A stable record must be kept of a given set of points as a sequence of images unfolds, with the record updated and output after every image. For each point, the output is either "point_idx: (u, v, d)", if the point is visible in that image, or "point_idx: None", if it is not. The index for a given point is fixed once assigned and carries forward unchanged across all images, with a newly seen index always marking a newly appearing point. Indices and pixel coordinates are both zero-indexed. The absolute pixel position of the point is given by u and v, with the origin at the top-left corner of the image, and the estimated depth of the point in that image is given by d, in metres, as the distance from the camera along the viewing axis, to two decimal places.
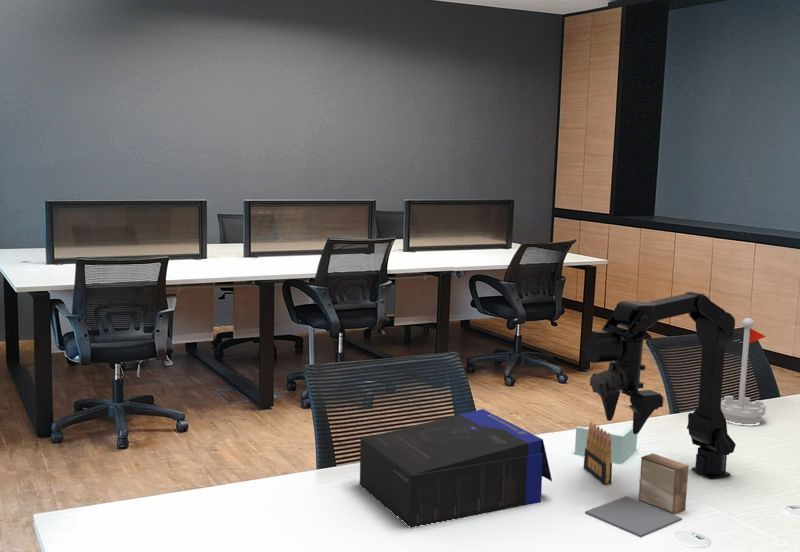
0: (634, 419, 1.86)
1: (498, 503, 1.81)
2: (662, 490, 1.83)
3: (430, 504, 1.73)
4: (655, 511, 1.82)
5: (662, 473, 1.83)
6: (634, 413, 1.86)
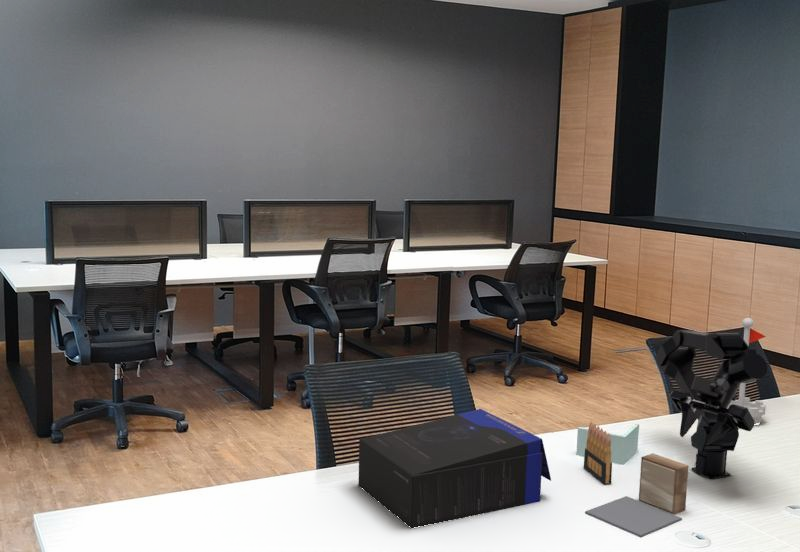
0: (714, 428, 1.88)
1: (498, 502, 1.81)
2: (662, 490, 1.83)
3: (431, 504, 1.73)
4: (655, 511, 1.82)
5: (662, 473, 1.83)
6: (717, 422, 1.89)
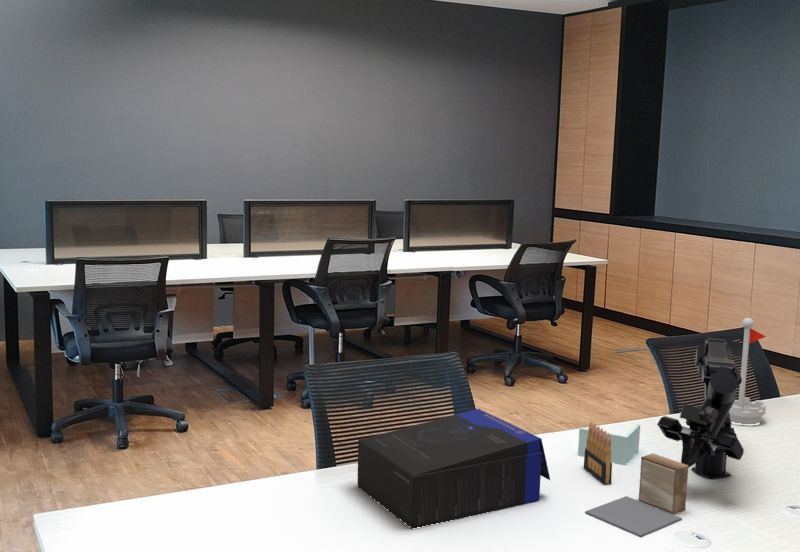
0: (691, 453, 1.89)
1: (498, 502, 1.81)
2: (662, 490, 1.83)
3: (432, 505, 1.73)
4: (655, 511, 1.82)
5: (662, 473, 1.83)
6: (694, 447, 1.89)
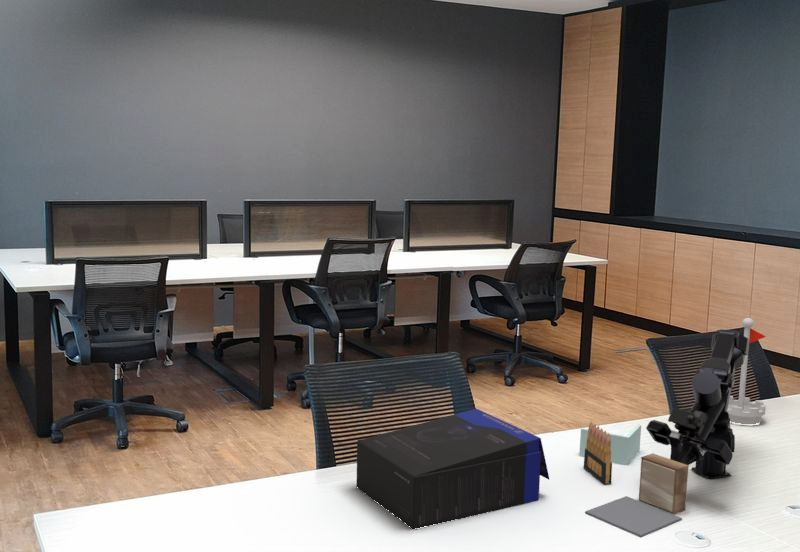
0: (679, 457, 1.86)
1: (498, 502, 1.81)
2: (662, 490, 1.83)
3: (432, 505, 1.73)
4: (655, 511, 1.82)
5: (662, 473, 1.83)
6: (683, 451, 1.87)
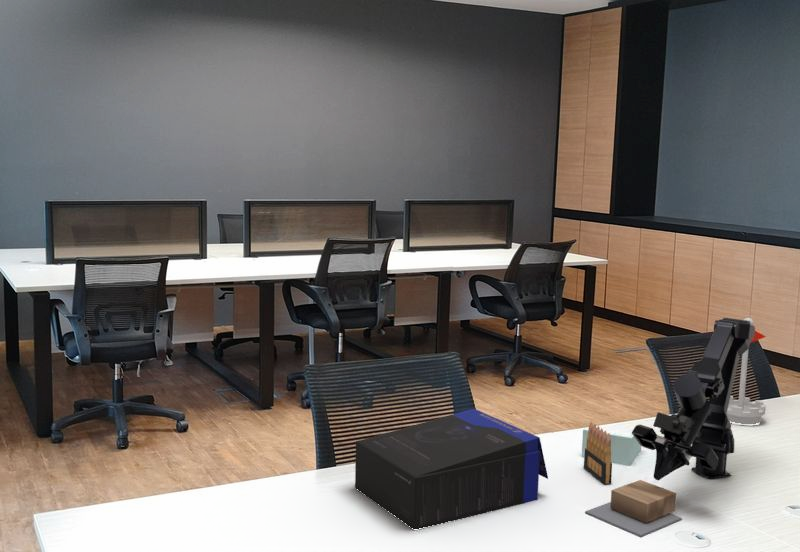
0: (665, 463, 1.83)
1: (498, 502, 1.81)
2: None
3: (433, 505, 1.73)
4: None
5: None
6: (668, 457, 1.84)
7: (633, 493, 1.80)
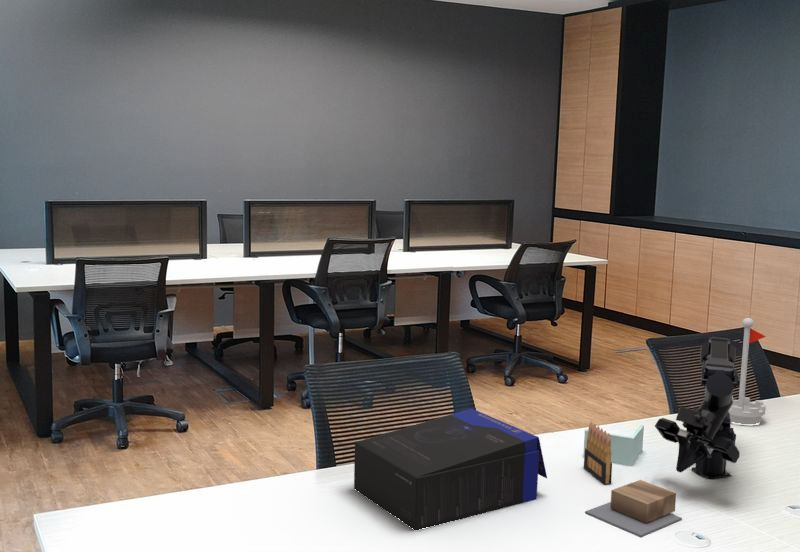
0: (687, 455, 1.89)
1: (497, 502, 1.82)
2: None
3: (434, 506, 1.72)
4: None
5: None
6: (690, 450, 1.89)
7: (633, 493, 1.80)
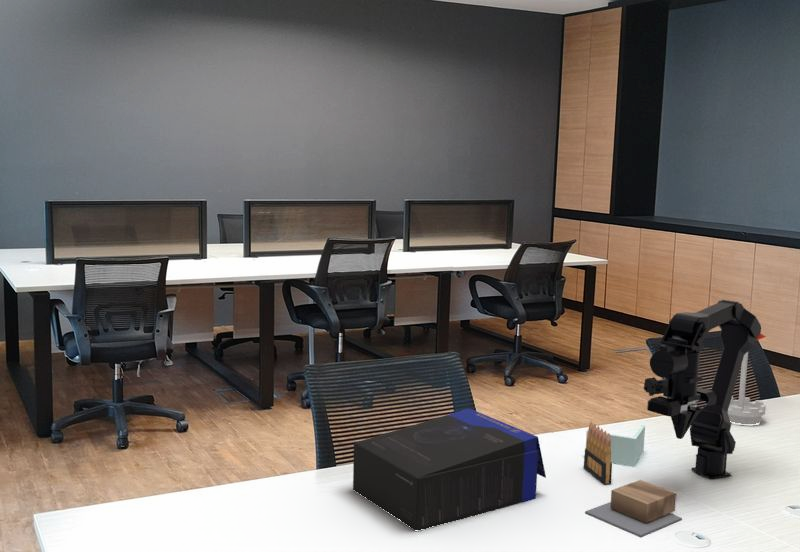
0: None
1: (497, 501, 1.82)
2: None
3: (435, 506, 1.72)
4: None
5: None
6: None
7: (633, 493, 1.80)
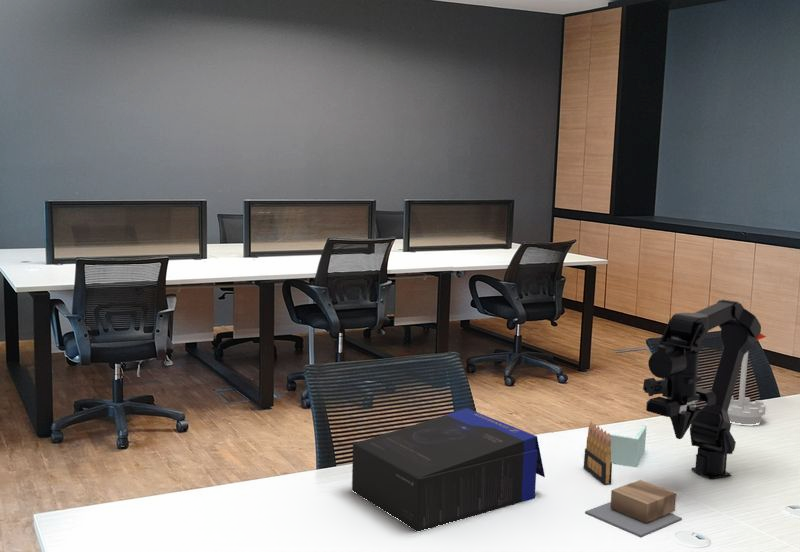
0: None
1: (497, 501, 1.82)
2: None
3: (436, 506, 1.72)
4: None
5: None
6: None
7: (633, 493, 1.80)
